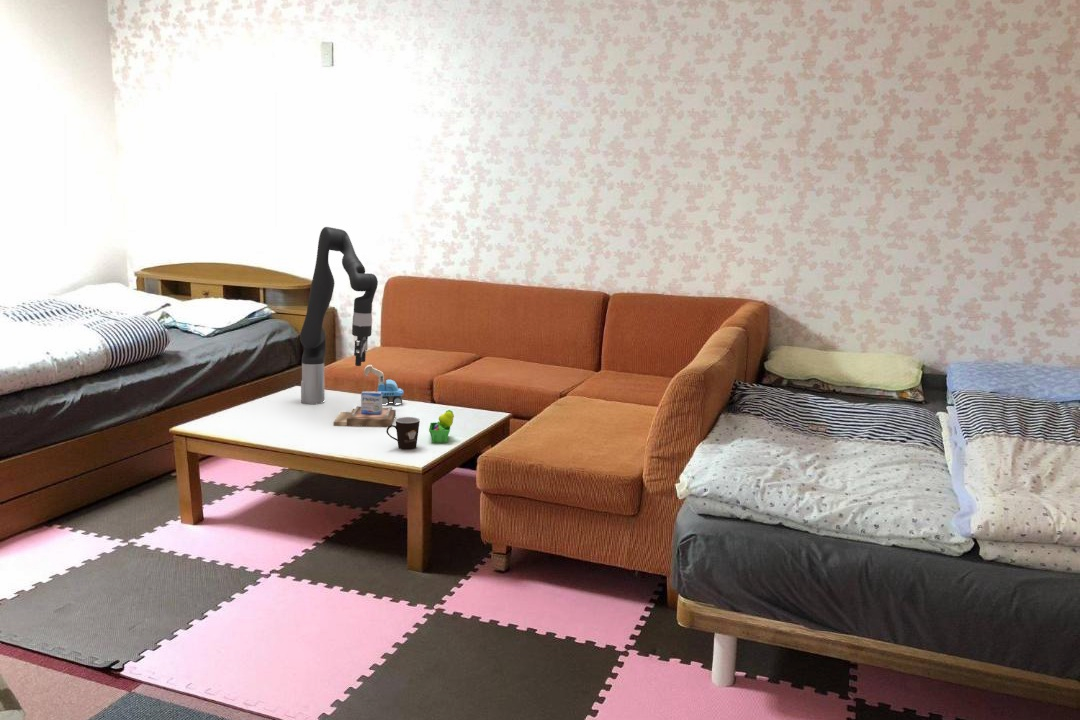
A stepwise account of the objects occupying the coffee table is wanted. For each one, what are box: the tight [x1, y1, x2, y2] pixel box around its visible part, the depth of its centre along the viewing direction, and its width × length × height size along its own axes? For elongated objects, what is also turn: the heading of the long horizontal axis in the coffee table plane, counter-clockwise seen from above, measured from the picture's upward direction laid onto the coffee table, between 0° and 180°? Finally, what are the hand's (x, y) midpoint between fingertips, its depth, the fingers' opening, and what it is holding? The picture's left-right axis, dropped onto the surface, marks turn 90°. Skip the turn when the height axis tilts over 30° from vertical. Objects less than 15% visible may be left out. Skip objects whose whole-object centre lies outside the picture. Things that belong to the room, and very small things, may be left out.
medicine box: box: [360, 390, 383, 415], centre depth 334 cm, size 8×4×9 cm, turn 93°
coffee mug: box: [386, 416, 420, 451], centre depth 301 cm, size 12×9×10 cm
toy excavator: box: [363, 364, 405, 405], centre depth 363 cm, size 9×17×17 cm, turn 100°
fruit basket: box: [428, 409, 455, 444], centre depth 312 cm, size 11×9×11 cm
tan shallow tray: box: [333, 405, 397, 428], centre depth 335 cm, size 22×16×4 cm
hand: (360, 363), depth 337 cm, fingers open, 8 cm apart
